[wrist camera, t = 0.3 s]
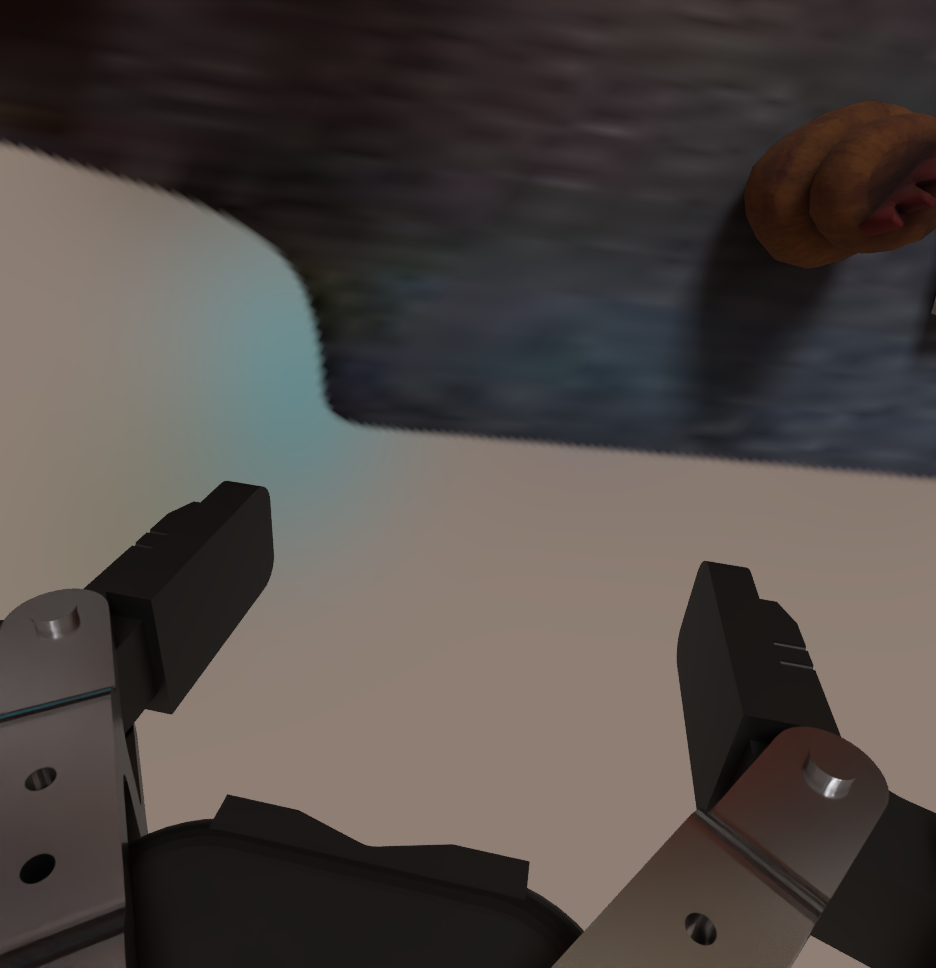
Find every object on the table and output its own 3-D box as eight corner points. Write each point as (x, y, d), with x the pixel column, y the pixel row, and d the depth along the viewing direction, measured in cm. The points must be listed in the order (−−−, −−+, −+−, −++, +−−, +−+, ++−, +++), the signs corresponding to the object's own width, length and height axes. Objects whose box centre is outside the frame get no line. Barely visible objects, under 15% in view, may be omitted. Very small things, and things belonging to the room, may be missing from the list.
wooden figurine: (843, 90, 32) (1075, 4, 18) (888, 203, 33) (1133, 203, 19) (708, 176, 34) (821, 158, 20) (756, 278, 35) (893, 328, 21)
